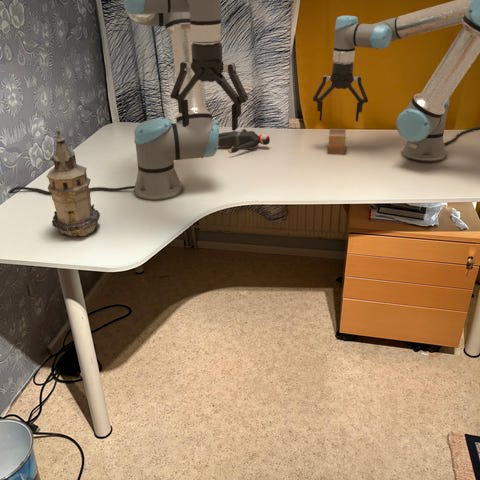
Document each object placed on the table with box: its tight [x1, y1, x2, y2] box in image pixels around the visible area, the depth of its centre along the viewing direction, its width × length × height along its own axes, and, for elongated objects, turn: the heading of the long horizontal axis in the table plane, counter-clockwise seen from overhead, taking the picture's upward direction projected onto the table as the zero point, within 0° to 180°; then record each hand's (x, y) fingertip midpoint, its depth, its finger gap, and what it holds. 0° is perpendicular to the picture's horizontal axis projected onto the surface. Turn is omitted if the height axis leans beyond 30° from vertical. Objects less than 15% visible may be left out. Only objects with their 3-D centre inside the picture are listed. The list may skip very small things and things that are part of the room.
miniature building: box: [46, 129, 101, 237], centre depth 148 cm, size 13×14×30 cm
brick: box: [327, 128, 347, 155], centre depth 208 cm, size 9×6×7 cm
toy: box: [218, 128, 271, 155], centre depth 214 cm, size 26×6×30 cm
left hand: (210, 127), depth 141 cm, fingers open, 13 cm apart
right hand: (338, 120), depth 204 cm, fingers open, 13 cm apart
